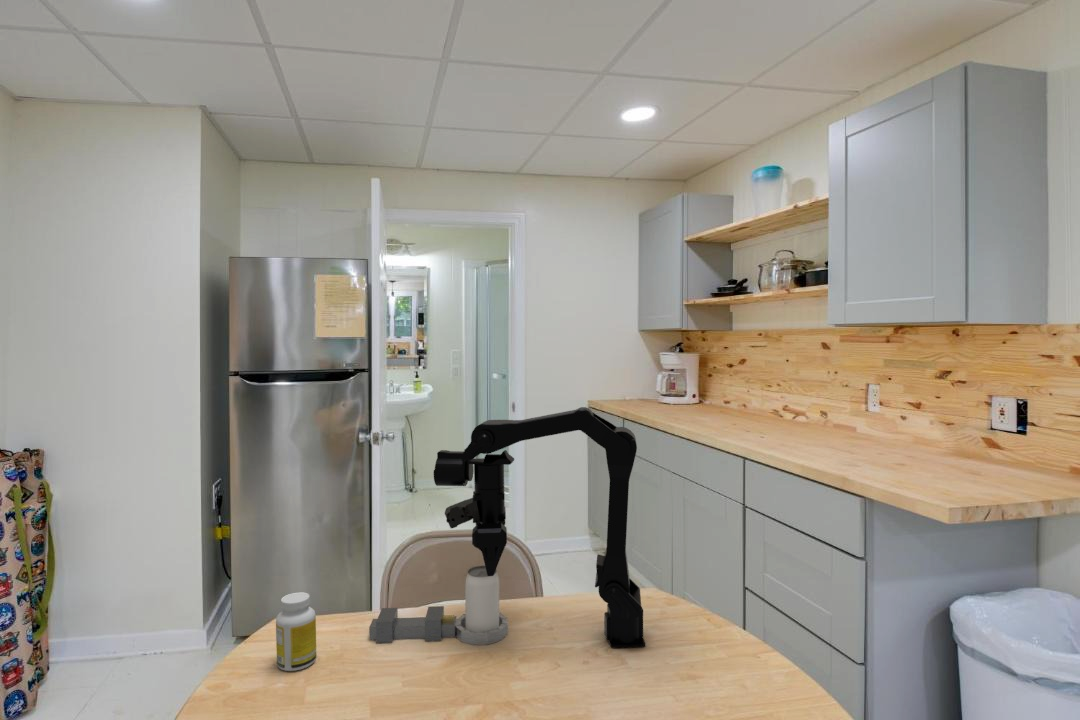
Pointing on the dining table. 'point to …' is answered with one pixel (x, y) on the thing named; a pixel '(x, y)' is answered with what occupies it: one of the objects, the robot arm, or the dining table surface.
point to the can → (481, 600)
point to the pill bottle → (296, 632)
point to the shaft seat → (431, 627)
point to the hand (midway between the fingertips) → (490, 566)
